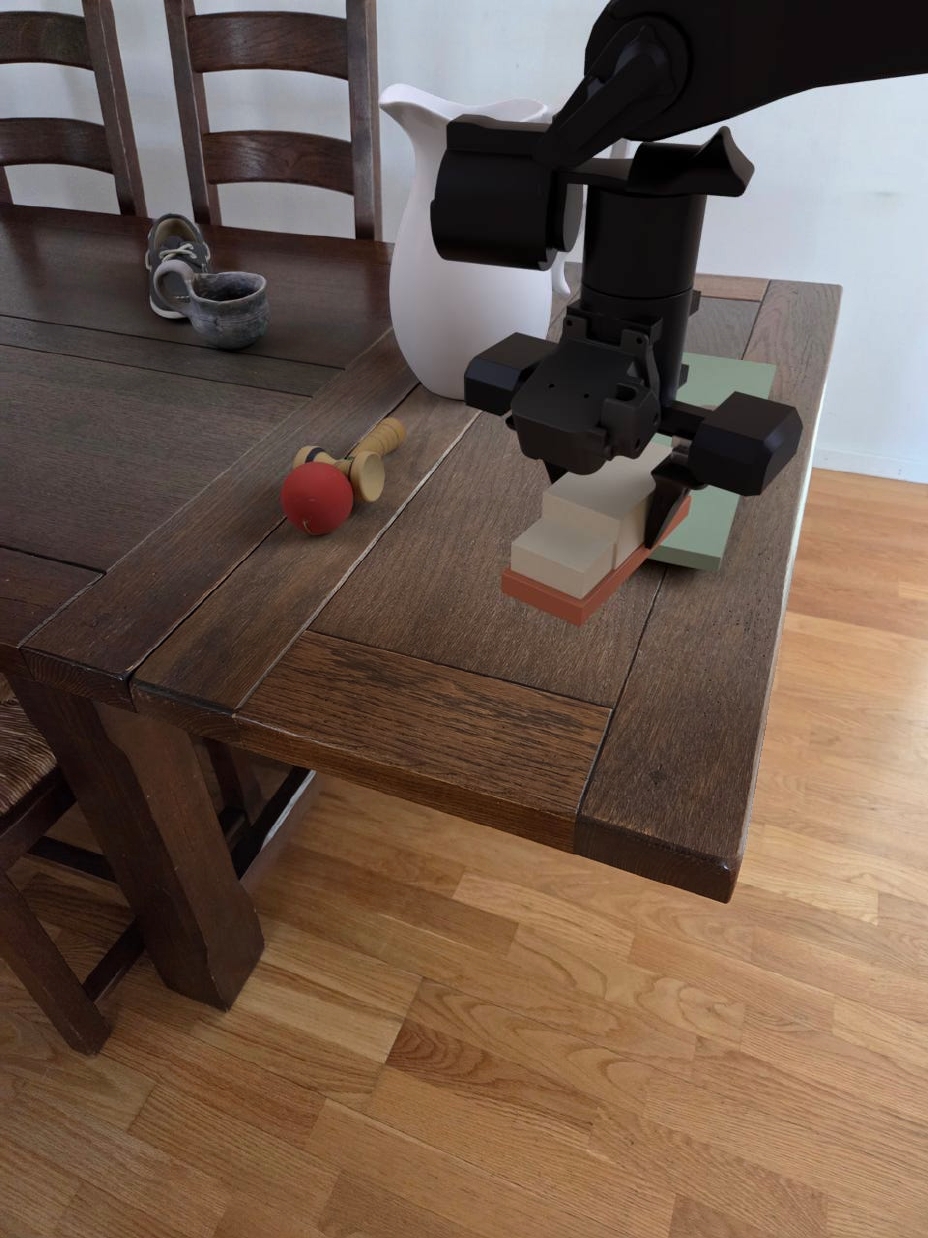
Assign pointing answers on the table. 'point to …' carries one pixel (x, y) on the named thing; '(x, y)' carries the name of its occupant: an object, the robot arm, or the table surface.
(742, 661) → the table surface
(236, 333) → the mug
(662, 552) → the flat pale green board
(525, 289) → the pitcher
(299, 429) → the table surface
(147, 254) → the boat shoe
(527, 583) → the stepped block on base
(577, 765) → the table surface
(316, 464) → the kendama
